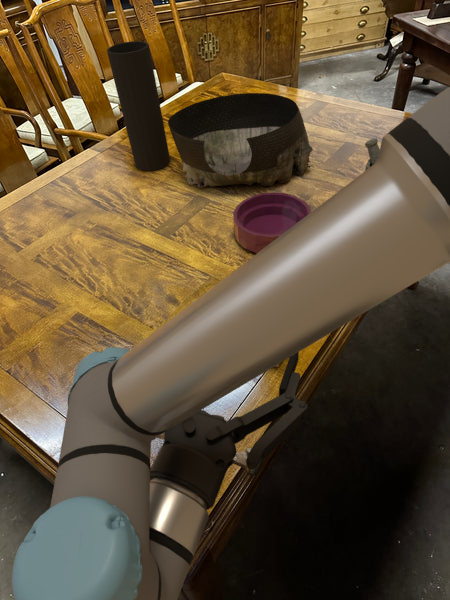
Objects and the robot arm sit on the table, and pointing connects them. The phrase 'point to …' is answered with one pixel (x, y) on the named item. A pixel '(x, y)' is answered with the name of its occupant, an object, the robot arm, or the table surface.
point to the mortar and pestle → (372, 152)
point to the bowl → (266, 218)
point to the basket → (241, 140)
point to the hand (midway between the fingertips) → (246, 340)
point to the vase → (139, 103)
